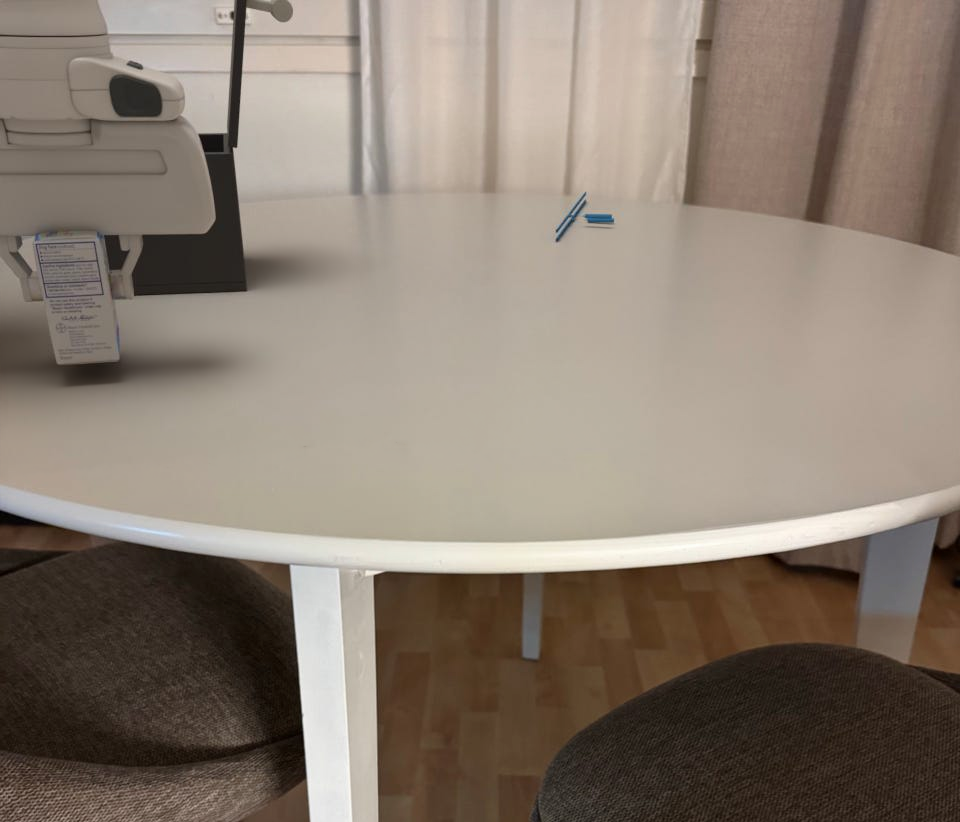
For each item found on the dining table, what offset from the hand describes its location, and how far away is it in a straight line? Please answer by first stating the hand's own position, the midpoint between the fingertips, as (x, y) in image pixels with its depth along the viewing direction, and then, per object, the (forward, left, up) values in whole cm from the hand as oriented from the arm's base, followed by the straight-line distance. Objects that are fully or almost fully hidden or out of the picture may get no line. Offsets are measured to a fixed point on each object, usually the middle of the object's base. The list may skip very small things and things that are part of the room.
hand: (81, 298), depth 77 cm
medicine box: (0, 0, -4) cm, 4 cm away
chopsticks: (+54, +48, -5) cm, 72 cm away
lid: (+13, +28, +14) cm, 34 cm away
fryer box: (+5, +28, -5) cm, 29 cm away
